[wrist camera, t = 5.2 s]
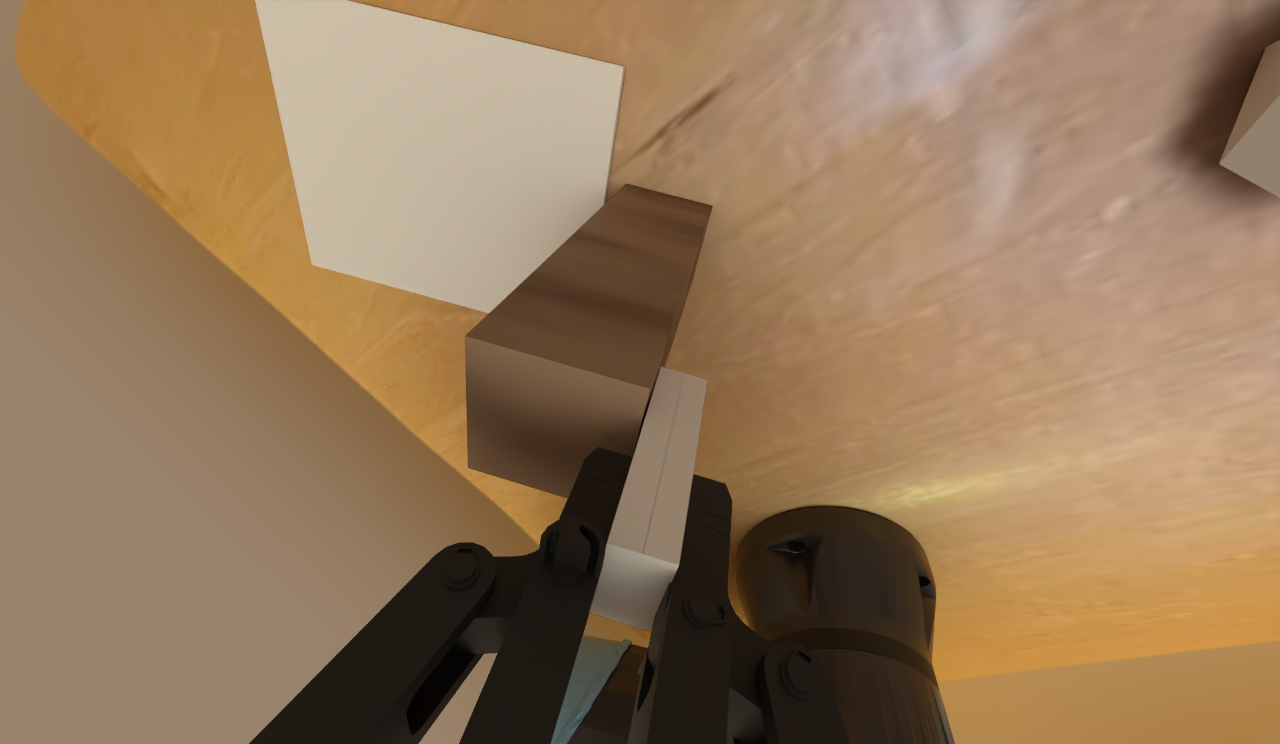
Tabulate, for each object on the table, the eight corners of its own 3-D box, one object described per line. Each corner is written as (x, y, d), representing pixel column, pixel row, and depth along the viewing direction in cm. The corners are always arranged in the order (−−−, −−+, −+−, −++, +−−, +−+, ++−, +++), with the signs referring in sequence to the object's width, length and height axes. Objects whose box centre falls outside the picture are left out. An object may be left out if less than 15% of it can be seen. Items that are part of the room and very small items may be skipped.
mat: (586, 336, 33) (584, 339, 33) (317, 262, 35) (312, 264, 34) (625, 66, 24) (623, 66, 24) (258, -22, 25) (250, -23, 25)
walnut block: (690, 286, 30) (617, 514, 15) (612, 265, 30) (467, 467, 16) (712, 205, 27) (649, 388, 12) (626, 183, 27) (464, 335, 13)
